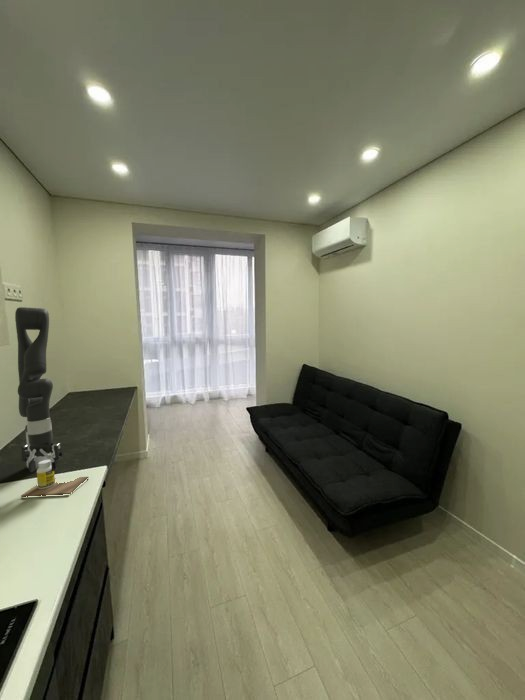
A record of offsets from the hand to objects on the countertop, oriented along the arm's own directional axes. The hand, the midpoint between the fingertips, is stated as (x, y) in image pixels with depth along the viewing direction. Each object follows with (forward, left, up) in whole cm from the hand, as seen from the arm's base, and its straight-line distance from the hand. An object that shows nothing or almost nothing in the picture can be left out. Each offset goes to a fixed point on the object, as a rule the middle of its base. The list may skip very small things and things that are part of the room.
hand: (43, 470), depth 113 cm
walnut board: (+4, 0, -8) cm, 9 cm away
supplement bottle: (+1, 0, -6) cm, 6 cm away
